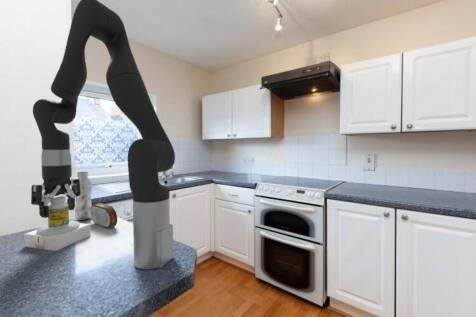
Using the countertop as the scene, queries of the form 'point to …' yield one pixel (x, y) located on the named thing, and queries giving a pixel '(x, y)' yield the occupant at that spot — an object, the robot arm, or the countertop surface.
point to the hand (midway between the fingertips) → (58, 213)
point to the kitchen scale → (57, 236)
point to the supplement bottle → (58, 213)
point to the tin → (104, 215)
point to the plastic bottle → (83, 197)
